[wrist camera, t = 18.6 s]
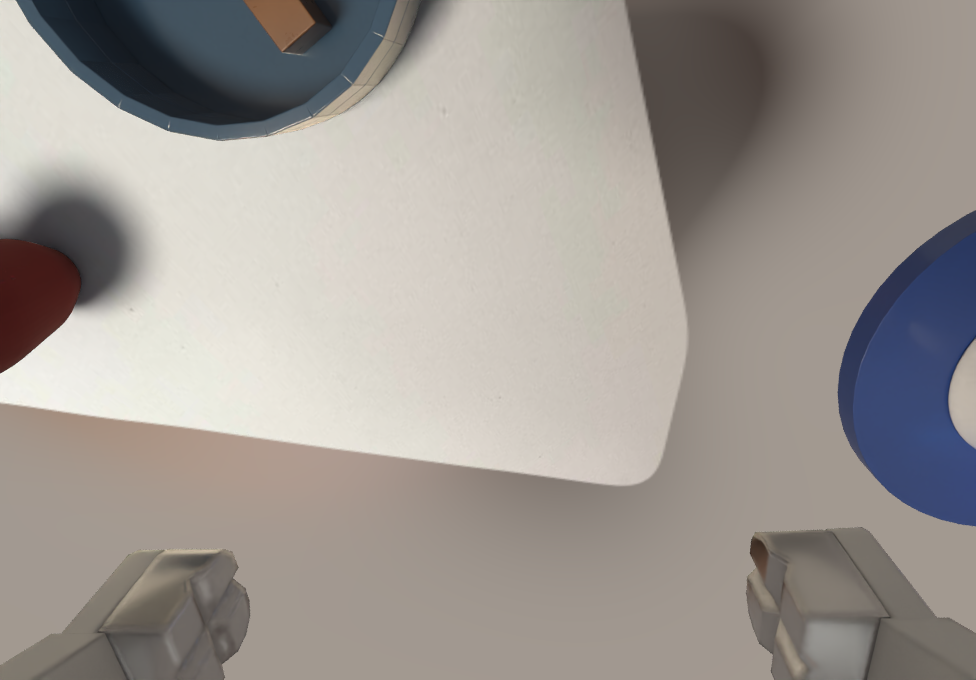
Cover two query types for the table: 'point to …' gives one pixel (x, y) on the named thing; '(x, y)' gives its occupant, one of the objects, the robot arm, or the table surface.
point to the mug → (32, 296)
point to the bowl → (222, 60)
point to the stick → (291, 23)
